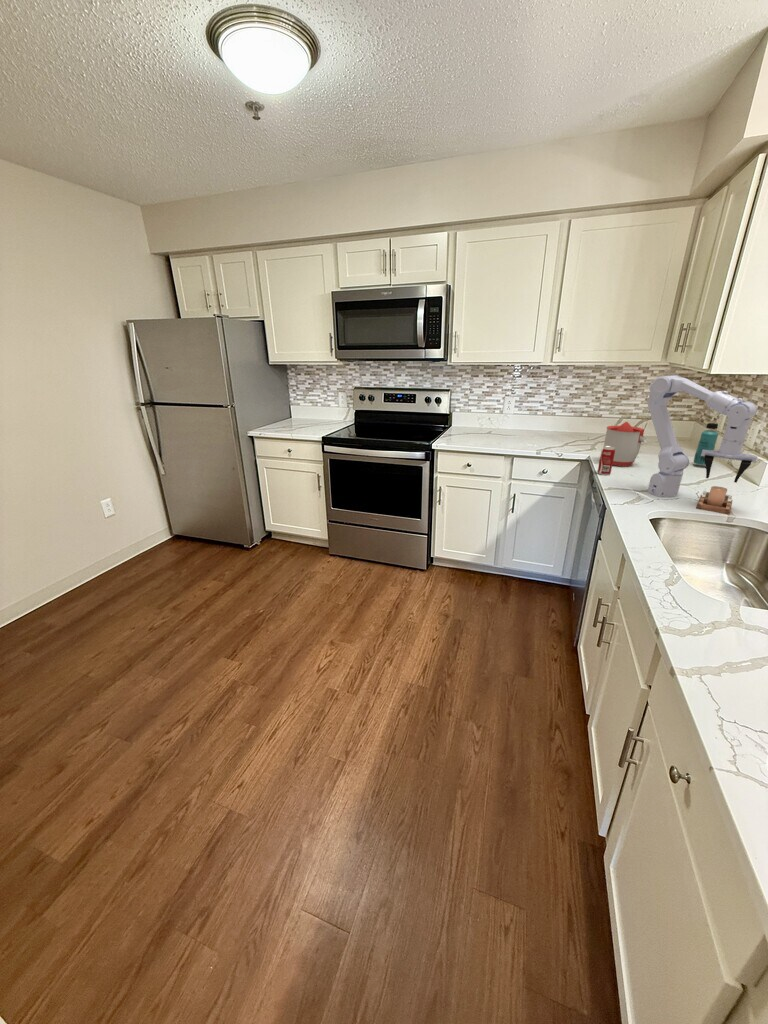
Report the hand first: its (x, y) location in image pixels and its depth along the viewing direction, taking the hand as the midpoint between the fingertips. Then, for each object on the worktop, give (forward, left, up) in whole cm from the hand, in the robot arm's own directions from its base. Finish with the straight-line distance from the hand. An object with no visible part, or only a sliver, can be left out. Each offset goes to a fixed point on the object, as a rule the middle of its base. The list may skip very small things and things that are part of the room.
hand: (721, 479), depth 143 cm
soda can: (-11, +44, -11) cm, 47 cm away
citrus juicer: (+7, +58, -11) cm, 60 cm away
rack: (+2, +1, -10) cm, 11 cm away
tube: (-1, -1, -10) cm, 10 cm away
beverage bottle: (+41, +48, -11) cm, 64 cm away
